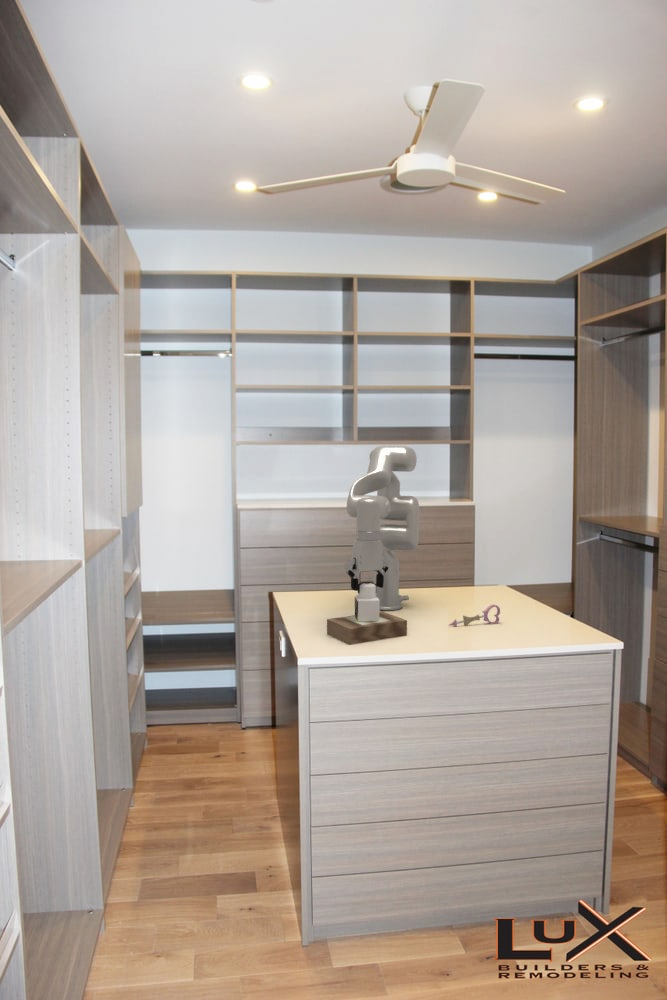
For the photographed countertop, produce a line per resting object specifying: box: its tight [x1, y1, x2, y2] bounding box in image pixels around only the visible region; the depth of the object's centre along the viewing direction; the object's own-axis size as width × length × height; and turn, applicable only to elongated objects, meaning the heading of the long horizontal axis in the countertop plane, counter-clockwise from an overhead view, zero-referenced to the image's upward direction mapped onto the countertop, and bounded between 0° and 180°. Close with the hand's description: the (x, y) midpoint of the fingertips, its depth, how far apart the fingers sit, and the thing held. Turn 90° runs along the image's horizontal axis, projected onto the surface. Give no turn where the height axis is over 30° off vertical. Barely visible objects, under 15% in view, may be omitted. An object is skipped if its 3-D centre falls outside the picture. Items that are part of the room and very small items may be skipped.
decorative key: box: [448, 604, 501, 628], centre depth 256 cm, size 7×1×20 cm
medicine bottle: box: [354, 581, 380, 622], centre depth 241 cm, size 7×7×12 cm
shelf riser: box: [326, 610, 408, 645], centre depth 242 cm, size 22×14×5 cm, turn 121°
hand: (367, 588), depth 241 cm, fingers open, 9 cm apart
